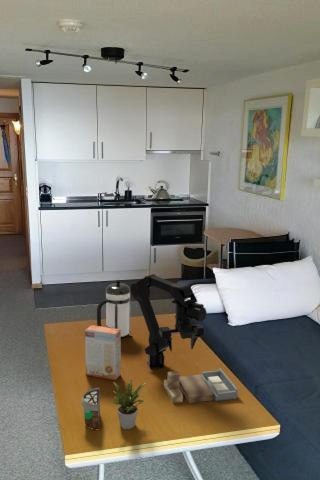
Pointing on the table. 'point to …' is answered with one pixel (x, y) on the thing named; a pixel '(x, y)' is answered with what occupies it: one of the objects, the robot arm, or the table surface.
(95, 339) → the cracker box
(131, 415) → the house plant
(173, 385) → the beige l-shaped block
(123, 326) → the coffee press
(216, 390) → the cream tile
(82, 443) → the table surface
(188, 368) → the table surface
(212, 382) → the cream tile
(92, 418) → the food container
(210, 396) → the tan flat block
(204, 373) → the grey tray
